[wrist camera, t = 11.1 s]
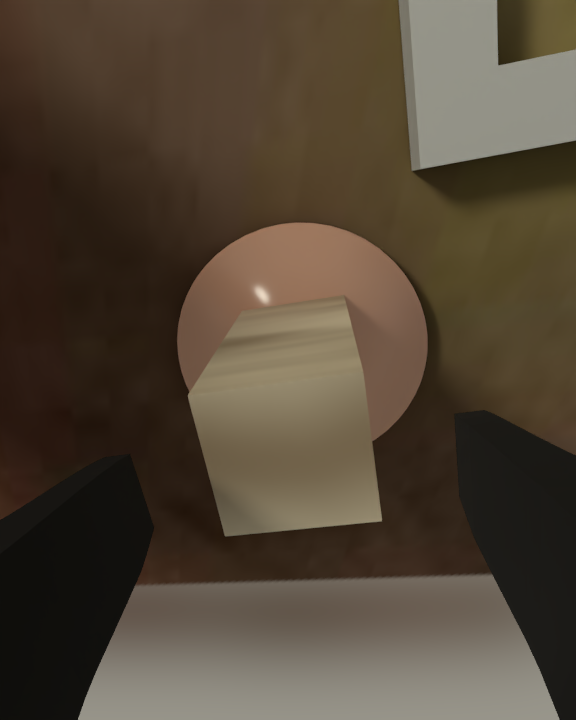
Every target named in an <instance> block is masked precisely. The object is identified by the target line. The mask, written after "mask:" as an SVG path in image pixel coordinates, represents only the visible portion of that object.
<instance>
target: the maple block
mask: <svg viewBox="0 0 576 720" xmlns="http://www.w3.org/2000/svg"><path fill="white" fill-rule="evenodd" d="M188 399H189V403H190V407H191V410H192V414H193V418H194V422H195V425H196V429H197V433H198V437H199V440H200V444H201V448H202V452H203V455H204V459H205V463H206V467H207V470H208V474H209V478H210V482H211V485H212V489H213V493H214V497H215V500H216V504H217V508H218V512H219V515H220V519H221V523H222V527H223V530H224V534H225V536H235V535H246V534H256V533H266V532H276V531H286V530H297V529H307V528H317V527H327V526H337V525H348V524H358V523H368V522H378V521H382V516H381V508H380V501H379V493H378V485H377V477H376V469H375V461H374V453H373V445H372V437H371V429H370V421H369V413H368V405H367V397H366V389H365V381H364V373H363V369H362V365H361V361H360V357H359V353H358V349H357V345H356V341H355V337H354V333H353V329H352V325H351V321H350V317H349V313H348V309H347V305H346V301H345V297H344V295H341V296H334V297H328V298H321V299H315V300H308V301H302V302H296V303H289V304H283V305H276V306H270V307H263V308H257V309H251V310H244V311H242V312H241V313H240V315H239V316H238V318H237V319H236V321H235V322H234V324H233V326H232V327H231V329H230V330H229V332H228V333H227V335H226V336H225V338H224V340H223V341H222V343H221V344H220V346H219V347H218V349H217V350H216V352H215V354H214V355H213V357H212V358H211V360H210V361H209V363H208V364H207V366H206V368H205V369H204V371H203V372H202V374H201V375H200V377H199V378H198V380H197V382H196V383H195V385H194V386H193V388H192V389H191V391H190V393H189V394H188Z"/></svg>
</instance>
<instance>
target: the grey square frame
mask: <svg viewBox="0 0 576 720" xmlns="http://www.w3.org/2000/svg"><path fill="white" fill-rule="evenodd" d="M399 12H400V25H401V38H402V50H403V63H404V76H405V89H406V102H407V115H408V128H409V141H410V154H411V167H412V171H414V170H420V169H425V168H430V167H436V166H441V165H447V164H452V163H458V162H463V161H468V160H474V159H479V158H485V157H490V156H496V155H501V154H506V153H512V152H517V151H523V150H528V149H533V148H539V147H544V146H550V145H555V144H561V143H566V142H571V141H576V50H572V51H567V52H562V53H557V54H552V55H547V56H543V57H538V58H533V59H528V60H523V61H518V62H513V63H509V64H504V65H499V66H498V31H497V0H399Z"/></svg>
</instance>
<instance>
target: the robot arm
mask: <svg viewBox="0 0 576 720" xmlns="http://www.w3.org/2000/svg"><path fill="white" fill-rule="evenodd" d="M454 415H455V432H456V448H457V465H458V482H459V496H460V499H461V502H462V505H463V508H464V511H465V514H466V516H467V519H468V522H469V525H470V527H471V530H472V533H473V536H474V538H475V540H476V542H477V544H478V546H479V549H480V551H481V553H482V555H483V557H484V558H485V560H486V562H487V564H488V566H489V568H490V570H491V572H492V574H493V576H494V578H495V580H496V582H497V584H498V586H499V588H500V590H501V592H502V594H503V596H504V598H505V600H506V602H507V604H508V606H509V607H510V610H511V612H512V614H513V615H514V618H515V619H516V621H517V623H518V625H519V627H520V629H521V631H522V633H523V635H524V637H525V639H526V641H527V643H528V645H529V647H530V650H531V652H532V654H533V656H534V658H535V660H536V663H537V665H538V667H539V669H540V671H541V674H542V676H543V679H544V681H545V684H546V686H547V689H548V691H549V694H550V696H551V699H552V701H553V704H554V706H555V709H556V711H557V714H558V716H559V719H560V720H576V455H573V454H571V453H569V452H567V451H565V450H563V449H561V448H559V447H557V446H555V445H553V444H551V443H549V442H547V441H545V440H543V439H541V438H539V437H537V436H535V435H533V434H531V433H529V432H528V431H526V430H524V429H522V428H520V427H518V426H516V425H514V424H512V423H510V422H508V421H506V420H505V419H503V418H501V417H499V416H497V415H495V414H492V413H490V412H488V411H485V410H482V411H474V412H466V413H458V414H454ZM153 529H154V526H153V523H152V520H151V517H150V514H149V511H148V508H147V505H146V502H145V499H144V495H143V492H142V489H141V486H140V483H139V480H138V477H137V474H136V471H135V468H134V465H133V462H132V459H131V456H130V454H127V455H119V456H111V457H104V458H102V459H100V460H98V461H96V462H94V463H92V464H90V465H89V466H87V467H85V468H83V469H82V470H80V471H78V472H77V473H75V474H73V475H72V476H70V477H68V478H67V479H65V480H64V481H62V482H60V483H59V484H57V485H56V486H54V487H53V488H51V489H49V490H48V491H46V492H45V493H43V494H42V495H40V496H38V497H37V498H35V499H34V500H32V501H31V502H29V503H27V504H26V505H24V506H23V507H21V508H20V509H18V510H16V511H15V512H13V513H11V514H10V515H8V516H6V517H5V518H3V519H1V520H0V720H78V717H79V715H80V711H81V709H82V706H83V703H84V700H85V697H86V695H87V692H88V690H89V687H90V685H91V683H92V680H93V677H94V675H95V673H96V670H97V668H98V666H99V664H100V662H101V659H102V657H103V655H104V653H105V651H106V648H107V646H108V644H109V642H110V640H111V637H112V635H113V633H114V631H115V628H116V626H117V624H118V622H119V620H120V618H121V615H122V613H123V611H124V609H125V607H126V604H127V602H128V600H129V598H130V595H131V593H132V591H133V589H134V586H135V584H136V582H137V580H138V577H139V575H140V572H141V570H142V567H143V564H144V561H145V558H146V555H147V551H148V548H149V544H150V541H151V537H152V533H153Z"/></svg>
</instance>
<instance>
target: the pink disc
mask: <svg viewBox="0 0 576 720" xmlns="http://www.w3.org/2000/svg"><path fill="white" fill-rule="evenodd" d="M341 295H344V297H345V301H346V305H347V309H348V313H349V317H350V321H351V325H352V329H353V333H354V337H355V341H356V345H357V349H358V353H359V357H360V361H361V365H362V369H363V373H364V381H365V389H366V397H367V405H368V413H369V421H370V429H371V437H372V441H374V440H375V439H377V438H378V437H379V436H381V435H382V434H383V433H385V432H386V431H387V430H388V429H389V428H390V427H391V426H392V425H393V424H394V423H395V422H396V421H397V420H398V419H399V418H400V417H401V415H402V414H403V413H404V412H405V410H406V409H407V408H408V406H409V405H410V403H411V401H412V400H413V398H414V396H415V394H416V392H417V390H418V387H419V385H420V383H421V380H422V377H423V373H424V370H425V366H426V358H427V351H428V335H427V328H426V321H425V317H424V313H423V310H422V306H421V303H420V301H419V299H418V297H417V294H416V292H415V290H414V288H413V286H412V285H411V283H410V282H409V280H408V279H407V277H406V275H405V274H404V273H403V272H402V270H401V269H400V268H399V267H398V266H397V265H396V263H395V262H394V261H393V260H392V259H391V258H390V257H388V256H387V255H386V254H385V253H384V252H383V251H382V250H380V249H379V248H378V247H377V246H375V245H374V244H372V243H371V242H369V241H367V240H366V239H364V238H363V237H360V236H358V235H356V234H354V233H352V232H350V231H348V230H344V229H341V228H338V227H335V226H332V225H326V224H320V223H312V222H293V223H283V224H277V225H273V226H269V227H265V228H262V229H259V230H257V231H254V232H252V233H249V234H247V235H245V236H243V237H242V238H240V239H238V240H236V241H235V242H233V243H231V244H230V245H228V246H227V247H226V248H224V249H223V250H222V251H220V252H219V253H218V254H217V255H216V256H215V257H214V258H213V259H212V260H211V261H210V262H209V263H208V264H207V265H206V266H205V267H204V268H203V270H202V271H201V272H200V274H199V275H198V276H197V278H196V279H195V281H194V282H193V284H192V286H191V288H190V290H189V292H188V294H187V296H186V299H185V301H184V304H183V307H182V310H181V314H180V319H179V324H178V335H177V345H178V357H179V362H180V367H181V371H182V374H183V377H184V380H185V383H186V386H187V388H188V390H189V392H190V391H191V389H192V388H193V386H194V385H195V383H196V382H197V380H198V378H199V377H200V375H201V374H202V372H203V371H204V369H205V368H206V366H207V364H208V363H209V361H210V360H211V358H212V357H213V355H214V354H215V352H216V350H217V349H218V347H219V346H220V344H221V343H222V341H223V340H224V338H225V336H226V335H227V333H228V332H229V330H230V329H231V327H232V326H233V324H234V322H235V321H236V319H237V318H238V316H239V315H240V313H241V312H242V311H244V310H251V309H257V308H263V307H270V306H276V305H283V304H289V303H296V302H302V301H308V300H315V299H321V298H328V297H334V296H341Z"/></svg>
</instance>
